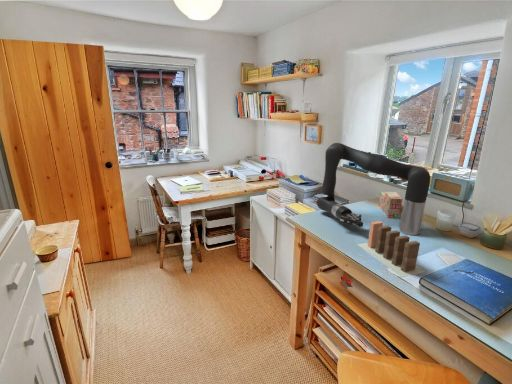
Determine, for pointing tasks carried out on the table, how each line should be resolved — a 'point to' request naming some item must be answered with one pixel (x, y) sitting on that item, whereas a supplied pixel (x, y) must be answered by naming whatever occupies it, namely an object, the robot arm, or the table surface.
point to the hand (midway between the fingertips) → (361, 225)
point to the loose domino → (374, 233)
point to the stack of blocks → (390, 204)
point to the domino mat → (389, 262)
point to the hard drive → (449, 258)
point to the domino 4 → (410, 256)
